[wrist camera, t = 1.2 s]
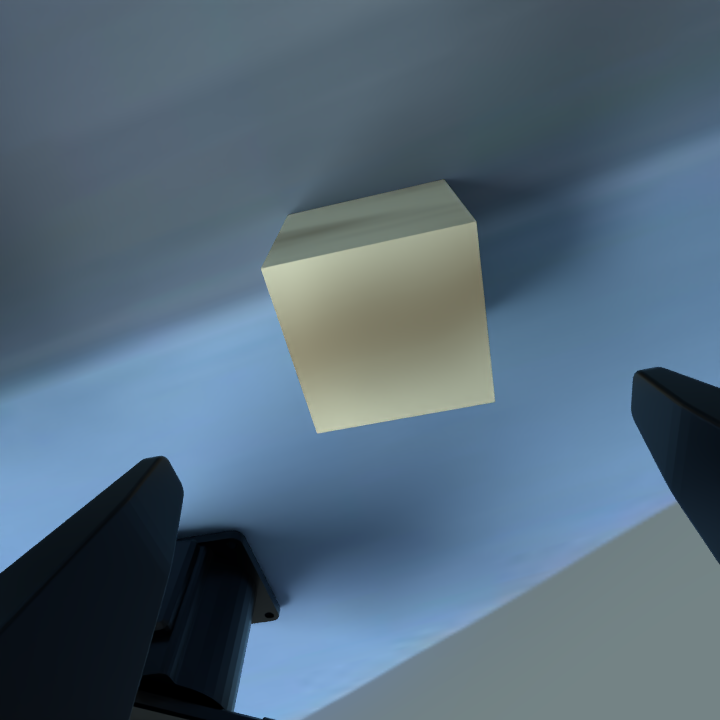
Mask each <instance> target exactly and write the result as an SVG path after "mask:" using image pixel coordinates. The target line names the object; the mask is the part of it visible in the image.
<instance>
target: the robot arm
mask: <svg viewBox="0 0 720 720" xmlns="http://www.w3.org/2000/svg"><path fill="white" fill-rule="evenodd" d="M631 412H632V416H633V419H634V421H635V423H636V425H637V427H638V429H639V431H640V433H641V435H642V437H643V439H644V441H645V443H646V445H647V447H648V449H649V451H650V453H651V455H652V456H653V458H654V460H655V462H656V464H657V466H658V468H659V470H660V472H661V474H662V476H663V478H664V480H665V482H666V483H667V485H668V487H669V489H670V491H671V492H672V494H673V495H674V497H675V499H676V500H677V502H678V503H679V505H680V506H681V508H682V509H683V511H684V512H685V514H686V515H687V517H688V518H689V520H690V521H691V523H692V524H693V526H694V527H695V529H696V530H697V532H698V533H699V534H700V536H701V537H702V539H703V540H704V542H705V543H706V545H707V546H708V548H709V549H710V551H711V552H712V554H713V555H714V557H715V558H716V560H717V561H718V563H719V564H720V388H718V387H715V386H713V385H710V384H707V383H704V382H702V381H699V380H696V379H693V378H690V377H688V376H685V375H682V374H679V373H676V372H674V371H671V370H668V369H665V368H662V367H654V368H649V369H643V370H638V371H637V372H636V373H635V374H634V376H633V386H632V401H631ZM183 496H184V491H183V487H182V484H181V482H180V480H179V478H178V476H177V475H176V473H175V471H174V469H173V467H172V465H171V464H170V462H169V460H168V459H167V458H166V457H164V456H157V457H151V458H146V459H143V460H141V461H140V462H139V463H138V464H136V465H135V466H134V467H133V468H131V469H130V470H129V471H128V472H126V473H125V474H124V475H123V476H121V477H120V478H119V479H118V480H116V481H115V482H114V483H113V484H111V485H110V486H109V487H108V488H106V489H105V490H104V491H103V492H101V493H100V494H99V495H98V496H96V497H95V498H94V499H93V500H91V501H90V502H89V503H88V504H86V505H85V506H84V507H83V508H81V509H80V510H79V511H78V512H76V513H75V514H74V515H73V516H71V517H70V518H69V519H68V520H66V521H65V522H64V523H63V524H61V525H60V526H59V527H58V528H56V529H55V530H54V531H53V532H51V533H50V534H49V535H48V536H46V537H45V538H44V539H43V540H41V541H40V542H39V543H38V544H36V545H35V546H34V547H33V548H31V549H30V550H29V551H28V552H26V553H25V554H24V555H23V556H21V557H20V558H19V559H18V560H16V561H15V562H14V563H13V564H11V565H10V566H9V567H8V568H6V569H5V570H4V571H3V572H1V573H0V720H275V719H271V718H267V717H264V718H263V719H260V718H256V717H252V716H248V715H244V714H240V713H236V712H234V707H235V702H236V697H237V692H238V687H239V682H240V677H241V672H242V667H243V662H244V657H245V652H246V647H247V642H248V637H249V632H250V627H251V624H253V623H260V622H268V621H274V620H276V619H278V617H279V613H280V606H279V604H278V602H277V600H276V598H275V597H274V595H273V593H272V591H271V589H270V587H269V585H268V583H267V581H266V579H265V577H264V575H263V573H262V571H261V569H260V567H259V565H258V563H257V561H256V559H255V557H254V555H253V553H252V551H251V549H250V547H249V545H248V543H247V541H246V539H245V537H244V536H243V534H241V533H240V532H236V531H228V532H222V533H215V534H209V535H202V536H196V537H190V538H183V539H177V533H178V527H179V521H180V515H181V509H182V503H183ZM176 539H177V540H176Z"/></svg>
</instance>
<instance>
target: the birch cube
mask: <svg viewBox="0 0 720 720" xmlns="http://www.w3.org/2000/svg"><path fill="white" fill-rule="evenodd" d="M261 270H262V273H263V276H264V279H265V282H266V285H267V288H268V291H269V293H270V296H271V299H272V302H273V305H274V308H275V311H276V314H277V317H278V320H279V323H280V326H281V329H282V332H283V335H284V338H285V340H286V343H287V346H288V349H289V352H290V355H291V358H292V361H293V364H294V367H295V370H296V373H297V376H298V379H299V382H300V385H301V388H302V390H303V393H304V396H305V399H306V402H307V405H308V408H309V411H310V414H311V417H312V420H313V423H314V426H315V429H316V432H317V433H323V432H328V431H334V430H340V429H345V428H351V427H357V426H362V425H368V424H374V423H379V422H385V421H391V420H396V419H402V418H408V417H413V416H419V415H425V414H430V413H436V412H442V411H447V410H453V409H458V408H464V407H470V406H475V405H481V404H487V403H492V402H495V396H494V387H493V377H492V368H491V358H490V348H489V339H488V329H487V319H486V310H485V300H484V291H483V281H482V271H481V262H480V252H479V242H478V233H477V223H476V220H475V219H474V218H473V216H472V215H471V214H470V213H469V211H468V210H467V209H466V207H465V206H464V205H463V203H462V202H461V201H460V199H459V198H458V197H457V196H456V194H455V193H454V192H453V190H452V189H451V188H450V186H449V185H448V184H447V182H446V181H445V180H444V179H443V180H438V181H434V182H430V183H425V184H421V185H417V186H412V187H408V188H403V189H399V190H395V191H390V192H386V193H382V194H377V195H373V196H369V197H364V198H360V199H356V200H351V201H347V202H342V203H338V204H334V205H329V206H325V207H321V208H316V209H312V210H308V211H303V212H299V213H294V214H290V215H288V216H287V218H286V220H285V222H284V224H283V226H282V228H281V230H280V232H279V234H278V236H277V238H276V240H275V242H274V244H273V246H272V248H271V250H270V252H269V254H268V256H267V258H266V260H265V262H264V264H263V266H262V268H261Z"/></svg>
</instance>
